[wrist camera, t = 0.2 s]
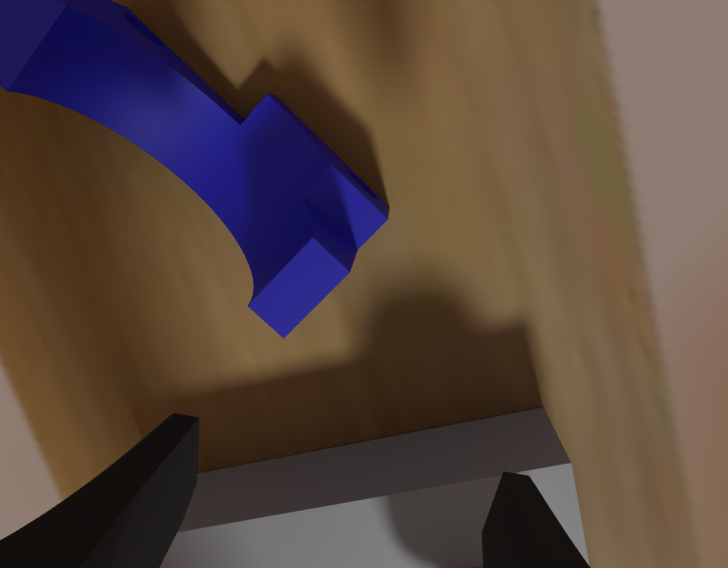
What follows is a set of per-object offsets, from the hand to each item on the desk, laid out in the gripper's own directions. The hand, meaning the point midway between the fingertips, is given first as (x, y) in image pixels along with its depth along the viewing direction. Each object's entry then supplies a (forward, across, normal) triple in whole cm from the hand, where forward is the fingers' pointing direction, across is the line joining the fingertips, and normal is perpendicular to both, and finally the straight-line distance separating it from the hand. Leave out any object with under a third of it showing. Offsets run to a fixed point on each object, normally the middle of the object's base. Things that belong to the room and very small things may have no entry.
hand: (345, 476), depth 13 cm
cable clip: (+12, +6, -5) cm, 14 cm away
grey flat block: (+9, -2, +12) cm, 15 cm away
